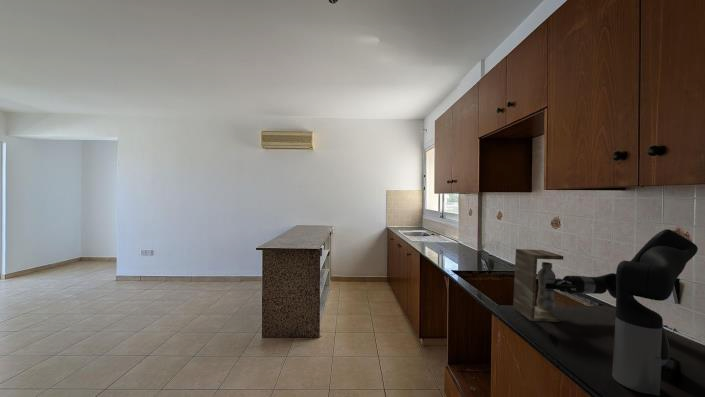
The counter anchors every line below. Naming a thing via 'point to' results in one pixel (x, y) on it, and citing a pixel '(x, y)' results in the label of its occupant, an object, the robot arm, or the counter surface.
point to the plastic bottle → (545, 295)
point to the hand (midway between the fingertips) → (540, 283)
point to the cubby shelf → (530, 284)
